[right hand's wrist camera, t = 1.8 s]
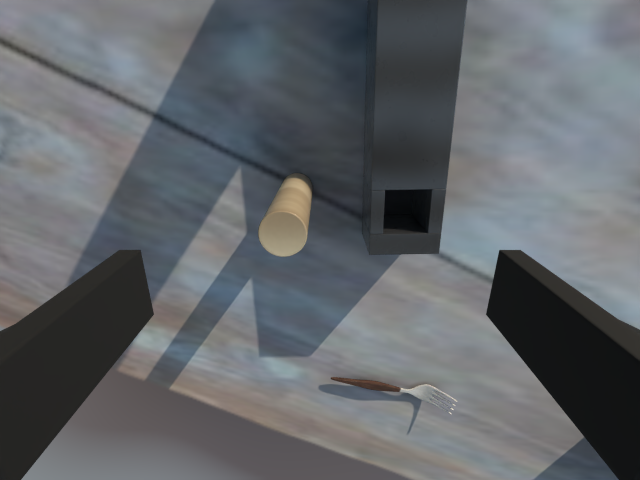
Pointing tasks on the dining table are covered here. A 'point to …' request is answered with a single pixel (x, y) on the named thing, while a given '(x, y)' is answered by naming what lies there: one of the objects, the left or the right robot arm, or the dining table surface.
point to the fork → (401, 390)
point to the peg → (287, 217)
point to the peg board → (409, 118)
